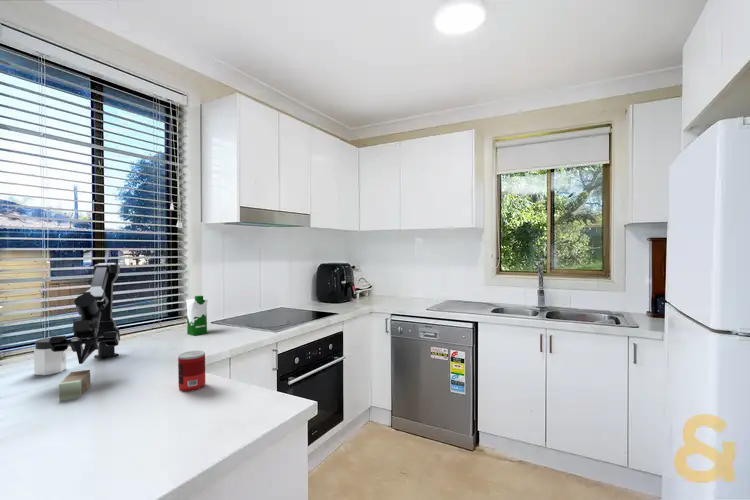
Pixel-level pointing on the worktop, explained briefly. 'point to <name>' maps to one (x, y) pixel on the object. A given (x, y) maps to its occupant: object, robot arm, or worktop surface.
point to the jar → (48, 359)
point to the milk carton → (197, 316)
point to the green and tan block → (74, 385)
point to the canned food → (191, 370)
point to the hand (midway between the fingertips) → (80, 363)
